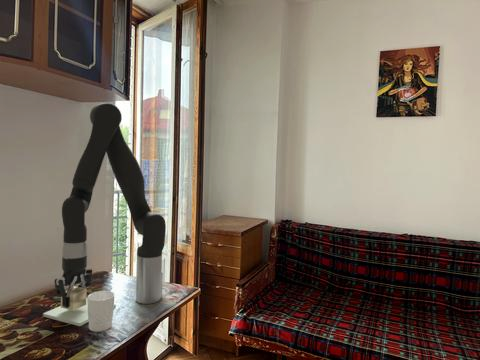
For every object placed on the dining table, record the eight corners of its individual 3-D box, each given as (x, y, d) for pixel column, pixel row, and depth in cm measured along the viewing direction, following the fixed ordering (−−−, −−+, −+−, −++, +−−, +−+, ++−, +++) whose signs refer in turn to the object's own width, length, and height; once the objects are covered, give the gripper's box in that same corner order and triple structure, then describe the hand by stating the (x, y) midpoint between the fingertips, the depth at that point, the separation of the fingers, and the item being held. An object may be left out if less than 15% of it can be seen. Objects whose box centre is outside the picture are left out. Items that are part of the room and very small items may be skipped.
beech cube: (74, 301, 119) (74, 286, 119) (86, 304, 117) (86, 288, 117) (60, 307, 114) (61, 291, 114) (73, 310, 112) (73, 294, 112)
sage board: (81, 299, 128) (81, 296, 128) (115, 307, 122) (115, 304, 122) (43, 316, 113) (43, 313, 113) (80, 326, 107) (80, 323, 107)
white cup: (82, 326, 107) (83, 295, 107) (106, 318, 113) (107, 289, 113) (93, 335, 102) (94, 302, 102) (118, 327, 108) (119, 295, 107)
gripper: (82, 248, 123) (81, 294, 124) (47, 258, 110) (46, 309, 110) (99, 251, 120) (98, 298, 121) (65, 261, 107) (64, 314, 108)
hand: (73, 303), depth 116 cm, fingers closed on beech cube, 5 cm apart
